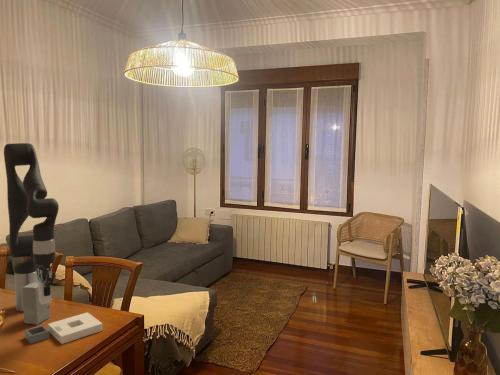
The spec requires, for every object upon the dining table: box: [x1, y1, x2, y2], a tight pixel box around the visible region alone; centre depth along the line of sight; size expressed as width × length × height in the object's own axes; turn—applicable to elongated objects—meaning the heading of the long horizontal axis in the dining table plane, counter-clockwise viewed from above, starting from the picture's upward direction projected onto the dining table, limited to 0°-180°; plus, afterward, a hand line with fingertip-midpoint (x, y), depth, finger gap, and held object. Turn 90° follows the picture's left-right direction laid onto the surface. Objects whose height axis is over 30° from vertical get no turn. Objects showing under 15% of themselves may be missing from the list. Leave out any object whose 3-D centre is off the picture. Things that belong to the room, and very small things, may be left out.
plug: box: [38, 277, 53, 304], centre depth 151 cm, size 4×4×10 cm
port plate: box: [47, 312, 103, 345], centre depth 158 cm, size 14×16×3 cm
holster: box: [24, 324, 50, 345], centre depth 152 cm, size 7×7×3 cm
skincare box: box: [22, 281, 51, 326], centre depth 165 cm, size 8×7×16 cm
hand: (45, 293), depth 151 cm, fingers closed on plug, 3 cm apart
